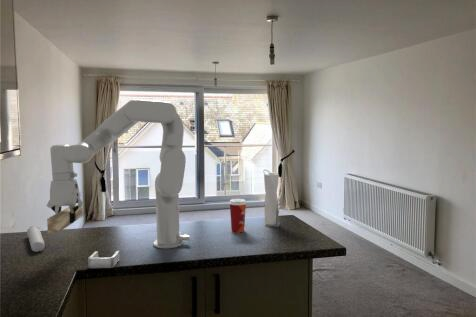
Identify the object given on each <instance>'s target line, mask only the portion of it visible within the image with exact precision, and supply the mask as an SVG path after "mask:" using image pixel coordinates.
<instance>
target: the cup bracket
mask: <svg viewBox="0 0 476 317" xmlns="http://www.w3.org/2000/svg"><path fill="white" fill-rule="evenodd" d="M120 258H121V257H120V250H117V251H115V252H114V254H113V255H112V256H111V257H110V256H109V257H99V251H94V252H93V253H92V254H90V256H88V258H87V266H88V269H111V268H112V269H114V268H115V267H116V266H117V264H118V263H119V262H118V261H120V260H121V259H120ZM117 262H118V263H117Z"/></svg>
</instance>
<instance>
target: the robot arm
mask: <svg viewBox="0 0 476 317" xmlns="http://www.w3.org/2000/svg"><path fill="white" fill-rule="evenodd" d="M139 122H140V123H154V124H155V123H157V124H158V123H159V124H161V126H162V138H161V139H162V140H161V147H160V153H159V160H160V163H161V164H160V172H159V173H158V174H157V175H156V177H155V181H154V188H155V189H154V191H155V207H156V208H155V212H156V216H155V217H156V218H155V219H156V239H155V240H154V241H153V246H154V247H155V248H158V249H165V250H167V249H174V248H178V246H179V247H180V246H182V245H183V244H184V241H190V240H191V235H188V234H182V231H180V199H179V198H180V197H179V196H180V195H179V194H180V192H181V191H182V187H183V185H184V176H185V169H186V162H187V161H186V159H187V158H186V154H185V152H184V151H183V144H184V143H183V142H184V130H185V129H184V123H183V120H182V118H181V116H180V114H179V113H178V112H177V108H176V106H175V105H174V104H173V103H171V102H170V101H162V100H147V99H137V98H135V99H130V100H129V101H127V102H126V103H125V104H124V105H123V106H121V107H120V108H119V109H118V110H116V111H115V112H114V113H113V114H111V115H110V116H108V118H106V119H105V120H104V121H103V122H102V123H100V124H99V126H98V127H97V128H96V129H95V130H94V131H93V132H91V133H90V134H89V135H88V136H86V137H85V138H84V139H82V140H81V141H80V142H79V143H77V144H72V145H70V144H66V143H65V144H54V145H52V146H51V147H50V164H51V177H52V180H51V181H50V187H49V200H48V201H47V203H46V207H48V208H49V209H51V210H52V211H53V212H54V215H55V214H57V213H58V212H60V211H62V207H69V208H70V223H72V224H74V223H75V222H76V221H77V220H76V214H75V212H76V211H77V210H78V209H79V208H80V207H81V206H82V207H83V206H84V205H85V204H84V202H83V200H82V199H81V195H80V188H79V183H78V181H77V178H75V177H78V173H77V172H75V171H74V164H86V163H88V162H90V161H91V160H92V158H93V157H94V156H95V155H97V154H98V153H99V152H100V151H101V150H103V149H104V148H106V146H108V145H110V143H112V142H115V141H117V140H118V139H119V138H120V137H122V136H123V135H124V134H125V133H127V132H128V131H130V129H131V128H132V127H134V126H135V125H136V124H138V123H139ZM75 205H77V206H75ZM75 220H76V221H75Z"/></svg>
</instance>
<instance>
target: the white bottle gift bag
mask: <svg viewBox="0 0 476 317" xmlns="http://www.w3.org/2000/svg"><path fill="white" fill-rule="evenodd" d="M265 172H267V173H265ZM263 177H264V178H263V179H264V191H265V196H264V227H270V228H279V227H280V225H281V223H280V218H279V217H280V216H279V214H280V210H279V203H278V202H279V201H278V193H277V192H278V187H279V178H280V174H279V172H276V171H271V172H270V171H269V170H268V169H263Z"/></svg>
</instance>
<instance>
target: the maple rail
mask: <svg viewBox="0 0 476 317" xmlns="http://www.w3.org/2000/svg"><path fill="white" fill-rule="evenodd" d="M77 205H78V204H75V206H77ZM75 214H76V220H75V222H76V221H78V220H79V219H81V218H82V217H83V216H84V212H83V205H82V206H81V207H80V208H79V209H78V210H77V211H76V212H75ZM72 224H73V223H70V208H69V206H66V208H63V209H61V211H60V212H58V213H57V214H55V213H54V214H53V215H52V216H49V217H47V218H46V225H47V233H60V232H62V231H63V230H65V229H66V228H68V227H69V226H70V225H72Z"/></svg>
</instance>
